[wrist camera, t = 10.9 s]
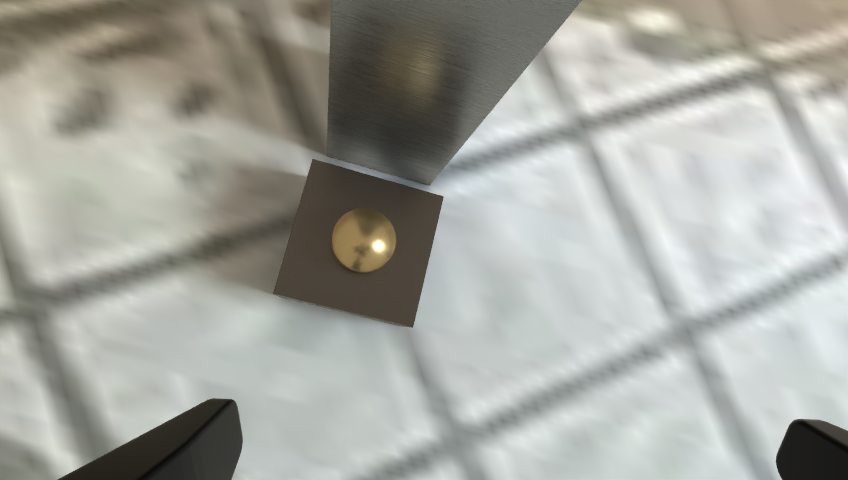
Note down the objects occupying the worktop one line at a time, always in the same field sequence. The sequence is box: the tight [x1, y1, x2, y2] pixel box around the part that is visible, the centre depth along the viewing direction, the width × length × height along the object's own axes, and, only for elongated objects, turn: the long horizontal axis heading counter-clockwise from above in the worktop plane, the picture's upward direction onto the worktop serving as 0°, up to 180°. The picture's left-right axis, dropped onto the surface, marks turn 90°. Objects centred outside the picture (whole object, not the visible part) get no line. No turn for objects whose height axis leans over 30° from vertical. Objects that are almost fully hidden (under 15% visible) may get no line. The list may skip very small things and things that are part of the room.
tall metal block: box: [327, 0, 582, 185], centre depth 15 cm, size 4×4×13 cm
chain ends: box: [273, 159, 443, 327], centre depth 20 cm, size 16×5×3 cm, turn 167°
